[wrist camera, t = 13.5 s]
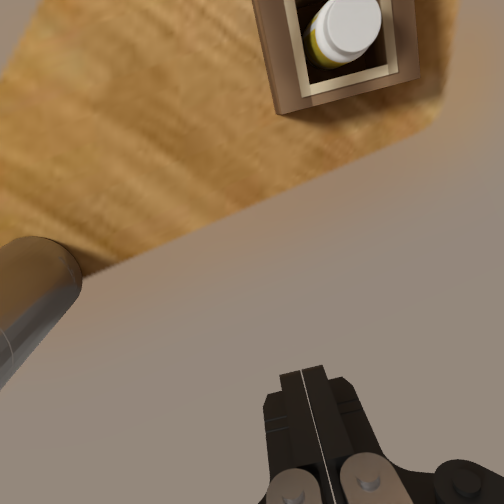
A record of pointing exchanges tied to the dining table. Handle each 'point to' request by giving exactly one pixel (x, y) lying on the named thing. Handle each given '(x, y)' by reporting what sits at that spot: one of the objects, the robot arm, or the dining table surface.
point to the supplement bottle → (341, 32)
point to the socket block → (374, 77)
